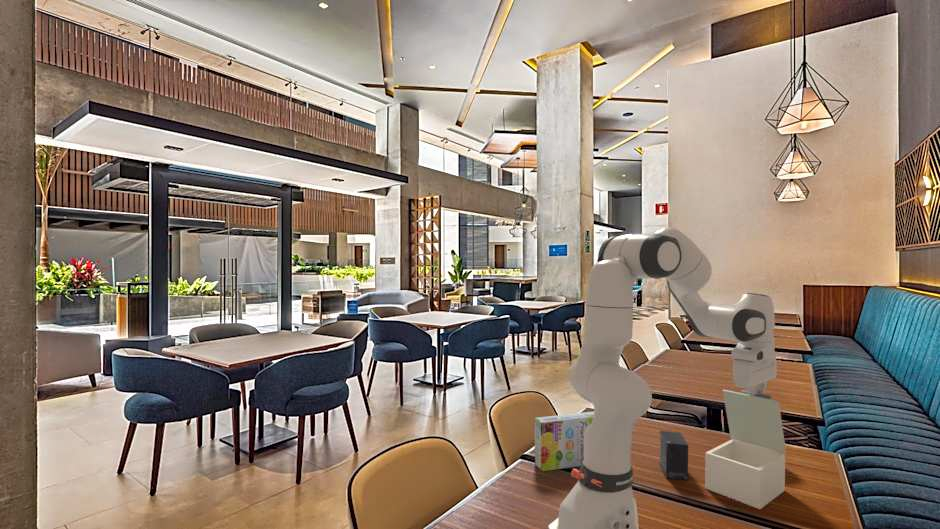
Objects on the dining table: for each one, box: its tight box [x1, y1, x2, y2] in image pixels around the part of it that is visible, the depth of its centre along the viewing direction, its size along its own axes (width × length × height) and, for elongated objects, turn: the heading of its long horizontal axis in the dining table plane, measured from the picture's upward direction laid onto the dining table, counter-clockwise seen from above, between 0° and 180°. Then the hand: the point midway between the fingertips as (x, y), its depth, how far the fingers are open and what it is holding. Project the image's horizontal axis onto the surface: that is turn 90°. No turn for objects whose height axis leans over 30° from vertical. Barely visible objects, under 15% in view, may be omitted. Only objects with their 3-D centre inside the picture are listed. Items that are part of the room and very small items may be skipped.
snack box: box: [533, 411, 594, 472], centre depth 149 cm, size 21×6×15 cm, turn 105°
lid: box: [721, 389, 787, 455], centre depth 136 cm, size 16×14×5 cm
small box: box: [659, 430, 689, 481], centre depth 143 cm, size 11×6×10 cm, turn 168°
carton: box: [704, 438, 786, 510], centre depth 132 cm, size 16×14×10 cm
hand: (756, 398), depth 136 cm, fingers open, 4 cm apart
